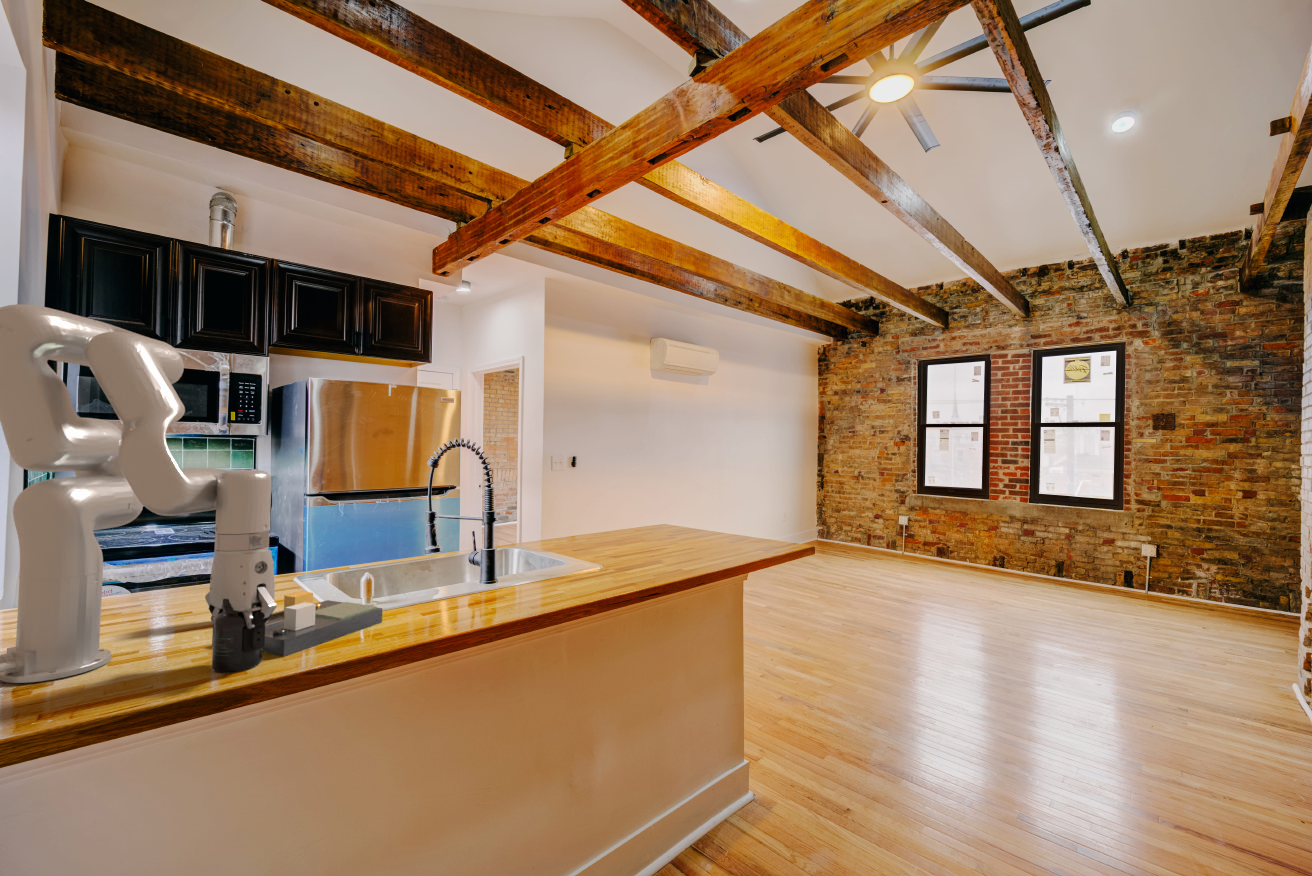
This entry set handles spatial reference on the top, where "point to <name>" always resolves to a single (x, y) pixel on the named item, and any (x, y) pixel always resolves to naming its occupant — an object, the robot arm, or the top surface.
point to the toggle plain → (299, 616)
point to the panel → (319, 626)
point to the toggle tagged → (297, 599)
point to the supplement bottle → (232, 642)
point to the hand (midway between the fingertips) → (238, 646)
